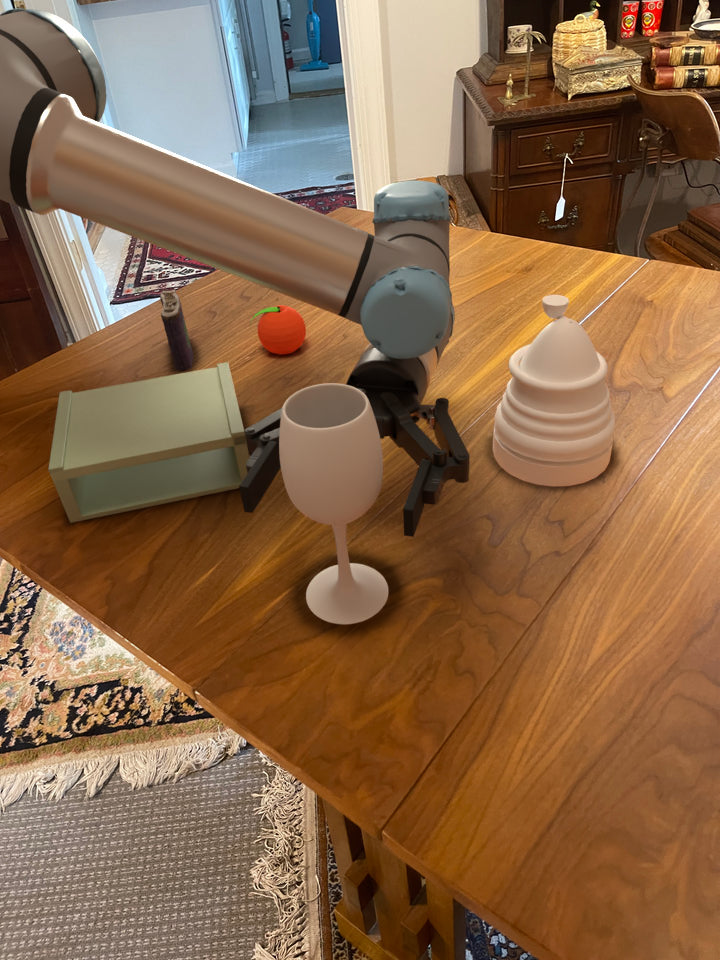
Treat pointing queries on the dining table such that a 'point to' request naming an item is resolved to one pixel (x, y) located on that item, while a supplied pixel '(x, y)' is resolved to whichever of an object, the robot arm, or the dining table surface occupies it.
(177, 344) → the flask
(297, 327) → the clementine
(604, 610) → the dining table surface
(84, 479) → the shelf
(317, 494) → the wineglass
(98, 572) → the dining table surface
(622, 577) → the dining table surface
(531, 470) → the honey pot
